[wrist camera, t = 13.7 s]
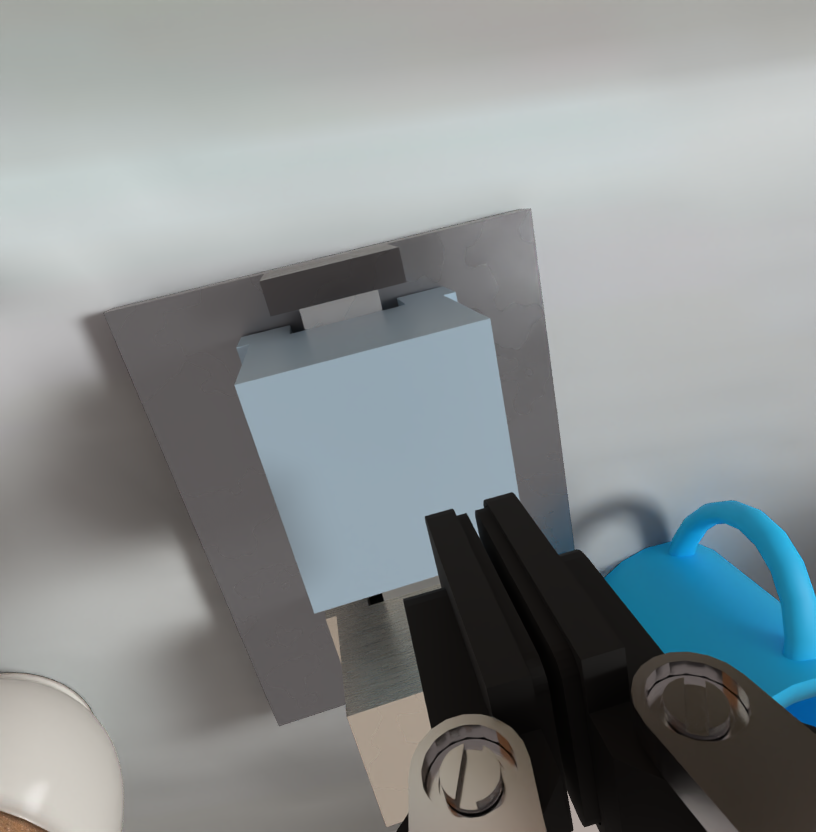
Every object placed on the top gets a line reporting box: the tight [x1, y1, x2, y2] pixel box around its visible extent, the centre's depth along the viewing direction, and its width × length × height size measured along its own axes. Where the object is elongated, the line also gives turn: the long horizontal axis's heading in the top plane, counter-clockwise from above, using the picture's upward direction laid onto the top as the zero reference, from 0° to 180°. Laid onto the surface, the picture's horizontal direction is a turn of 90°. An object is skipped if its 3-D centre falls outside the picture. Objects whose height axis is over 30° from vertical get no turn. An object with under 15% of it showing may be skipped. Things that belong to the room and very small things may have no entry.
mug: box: [604, 500, 816, 727], centre depth 23 cm, size 12×8×8 cm
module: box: [234, 286, 520, 614], centre depth 16 cm, size 7×6×6 cm
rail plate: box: [104, 209, 575, 827], centre depth 18 cm, size 14×18×7 cm
